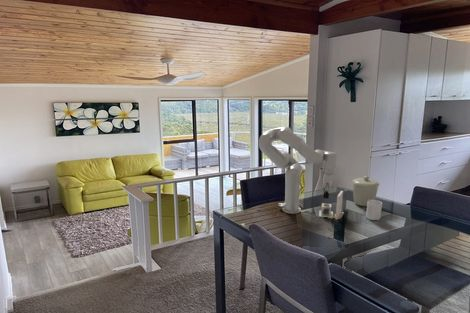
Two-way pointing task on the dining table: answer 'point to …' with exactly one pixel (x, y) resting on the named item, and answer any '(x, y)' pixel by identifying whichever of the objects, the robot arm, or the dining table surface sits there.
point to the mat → (324, 215)
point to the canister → (364, 190)
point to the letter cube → (326, 209)
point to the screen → (339, 206)
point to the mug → (373, 209)
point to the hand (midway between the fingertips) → (325, 195)
